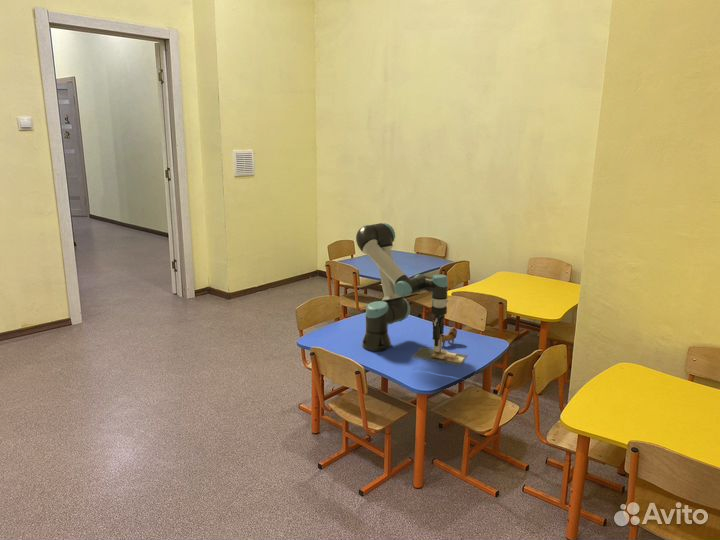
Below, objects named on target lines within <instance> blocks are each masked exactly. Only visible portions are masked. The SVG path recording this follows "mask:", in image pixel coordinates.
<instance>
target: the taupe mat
mask: <svg viewBox="0 0 720 540" xmlns="http://www.w3.org/2000/svg"><path fill="white" fill-rule="evenodd" d="M448 352H449V353H452V352H450V351H448ZM433 353H434V348H428V347H420V348H418V350H417V351H416V352H415V353H414V354H413V356H412V358H415V359H420V360H427V361H432V362H437V363H442V364H448V365H454V366H460V367H461V366H462V365H463V364H464V363H465V361H466V359H467V358H468V357H469V355H467V354H463V353H456V352H454V353H455V354H457V358H456V359H455V360H454V361H453V360H447V359H440V358H435V357H432V354H433ZM444 358H445V357H444Z"/></svg>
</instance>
